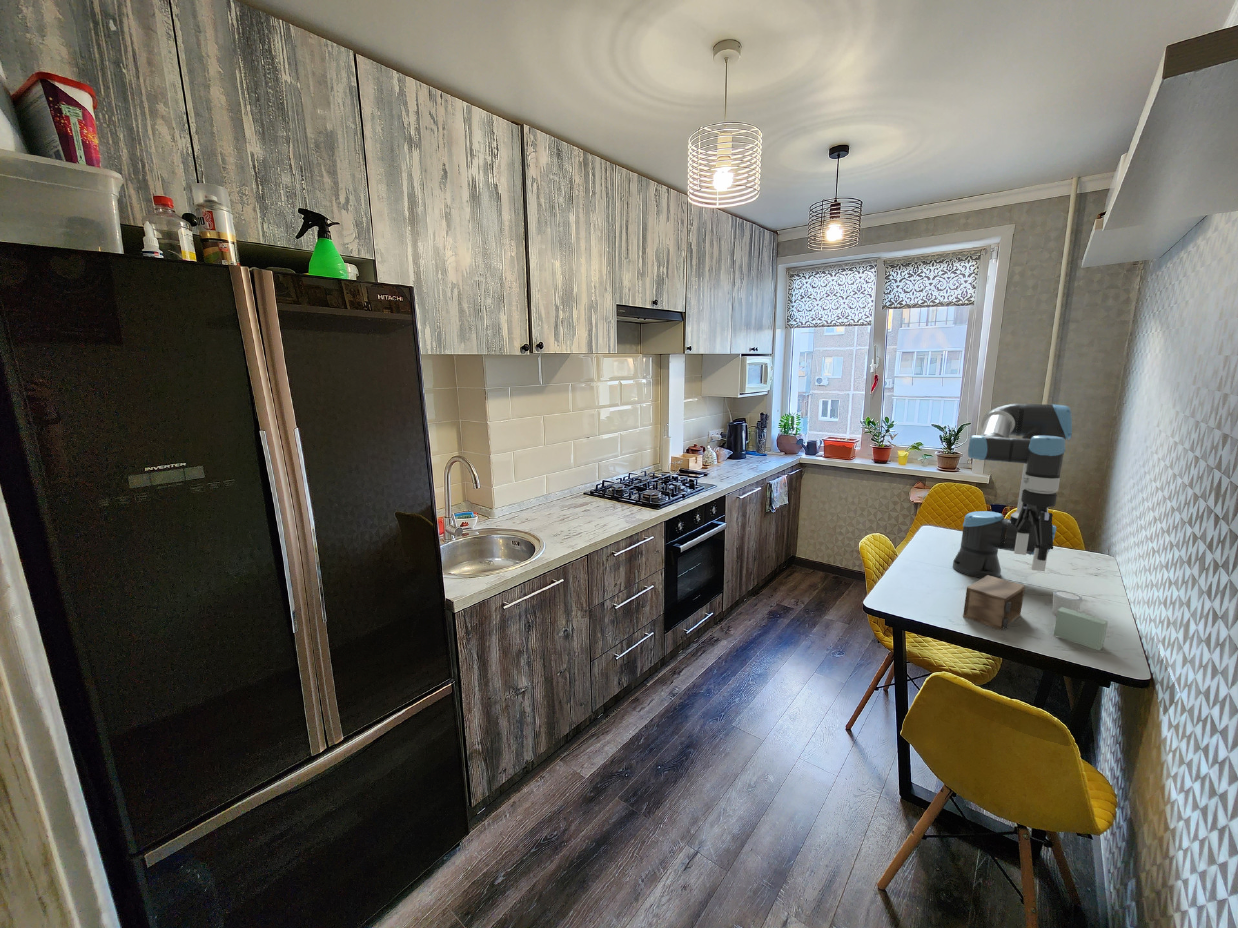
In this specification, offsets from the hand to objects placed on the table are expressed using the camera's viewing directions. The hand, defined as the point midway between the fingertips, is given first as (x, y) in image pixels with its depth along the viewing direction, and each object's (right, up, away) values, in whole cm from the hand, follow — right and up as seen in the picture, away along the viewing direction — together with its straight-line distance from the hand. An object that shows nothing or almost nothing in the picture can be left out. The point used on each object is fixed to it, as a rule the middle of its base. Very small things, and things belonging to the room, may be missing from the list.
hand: (1028, 561), depth 144 cm
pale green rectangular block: (+13, -23, -1) cm, 26 cm away
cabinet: (-1, -20, +13) cm, 24 cm away
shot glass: (+22, -20, +13) cm, 33 cm away
